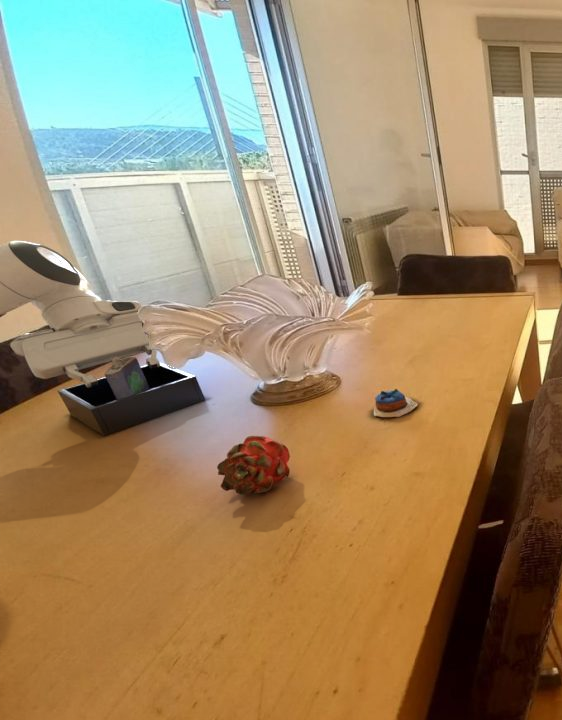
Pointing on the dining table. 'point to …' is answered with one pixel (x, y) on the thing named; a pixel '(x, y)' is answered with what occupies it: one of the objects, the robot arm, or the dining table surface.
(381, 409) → the dessert
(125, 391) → the flask
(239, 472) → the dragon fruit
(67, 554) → the dining table surface
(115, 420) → the basin
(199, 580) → the dining table surface
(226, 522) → the dining table surface
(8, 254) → the robot arm
